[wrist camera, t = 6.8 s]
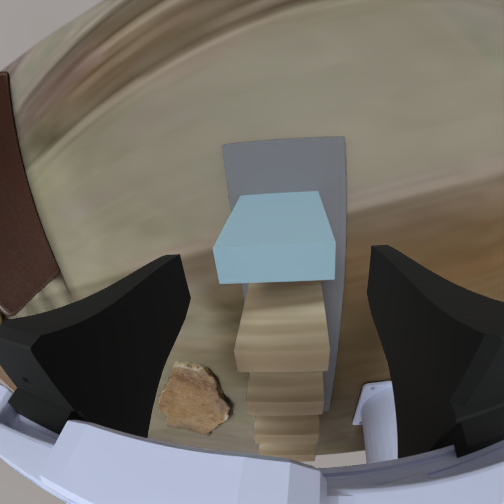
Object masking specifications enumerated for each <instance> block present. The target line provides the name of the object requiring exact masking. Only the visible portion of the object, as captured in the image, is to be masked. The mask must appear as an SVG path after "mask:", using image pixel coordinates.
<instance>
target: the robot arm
mask: <svg viewBox="0 0 504 504" xmlns="http://www.w3.org/2000/svg"><path fill="white" fill-rule="evenodd" d="M367 295H368V300H369V305H370V310H371V314H372V317H373V320H374V323H375V326H376V329H377V332H378V335H379V338H380V341H381V343H382V346H383V350H384V353H385V356H386V359H387V362H388V366H389V370H390V376H391V381H384V382H375V383H367V384H365V385H363V387H362V391H361V394H360V398H359V401H358V405H357V408H356V411H355V415H354V418H353V421H352V423H353V425H363V433H364V442H365V451H366V461H367V464H362V465H353V466H344V467H333V468H315V467H313V466H311V465H307V464H304V463H301V462H297V461H294V460H291V459H288V458H283V457H273V456H265V455H258V454H251V453H242V452H230V451H220V450H211V449H203V448H196V447H190V446H184V445H178V444H172V443H167V442H162V441H157V440H153V439H148V438H147V437H148V430H149V425H150V419H151V414H152V409H153V405H154V400H155V396H156V392H157V388H158V385H159V381H160V378H161V375H162V371H163V368H164V366H165V363H166V361H167V358H168V356H169V354H170V352H171V349H172V347H173V345H174V343H175V341H176V338H177V336H178V334H179V332H180V329H181V327H182V325H183V323H184V320H185V317H186V314H187V311H188V307H189V303H190V299H191V297H190V293H189V289H188V285H187V281H186V277H185V273H184V269H183V265H182V261H181V257H180V254H177V255H165V256H162V257H160V258H158V259H156V260H154V261H152V262H150V263H148V264H147V265H145V266H143V267H142V268H140V269H138V270H137V271H135V272H133V273H132V274H130V275H128V276H126V277H125V278H123V279H121V280H119V281H118V282H116V283H114V284H112V285H110V286H109V287H107V288H105V289H103V290H101V291H99V292H97V293H95V294H93V295H91V296H88V297H86V298H84V299H82V300H79V301H77V302H74V303H71V304H69V305H66V306H63V307H61V308H58V309H54V310H51V311H48V312H44V313H40V314H36V315H32V316H27V317H21V318H16V319H9V320H6V321H5V322H3V323H2V324H1V325H0V365H1V367H2V368H3V369H4V371H5V372H6V373H7V375H8V376H9V378H10V379H11V380H12V381H13V383H14V384H15V385H16V387H18V388H17V389H16V390H15V392H14V393H13V392H12V391H11V390H10V389H8V388H7V387H5V386H3V385H2V384H0V458H1V459H3V460H4V461H5V462H6V463H8V464H9V465H10V466H11V467H13V468H14V469H16V470H17V471H18V472H20V473H21V474H22V475H24V476H25V477H27V478H28V479H29V480H31V481H32V482H34V483H35V484H37V485H39V486H40V487H42V488H43V489H44V490H46V491H48V492H50V493H51V494H53V495H54V496H56V497H58V498H60V499H61V500H63V501H65V502H66V504H504V302H501V301H497V300H494V299H491V298H488V297H485V296H483V295H480V294H477V293H474V292H472V291H470V290H467V289H465V288H463V287H461V286H458V285H456V284H454V283H452V282H450V281H448V280H446V279H444V278H442V277H441V276H439V275H437V274H435V273H433V272H432V271H430V270H428V269H427V268H425V267H423V266H422V265H420V264H418V263H417V262H415V261H414V260H412V259H410V258H409V257H407V256H406V255H404V254H402V253H401V252H399V251H398V250H396V249H394V248H392V247H390V246H388V245H378V246H371V258H370V269H369V279H368V288H367Z"/></svg>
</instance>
